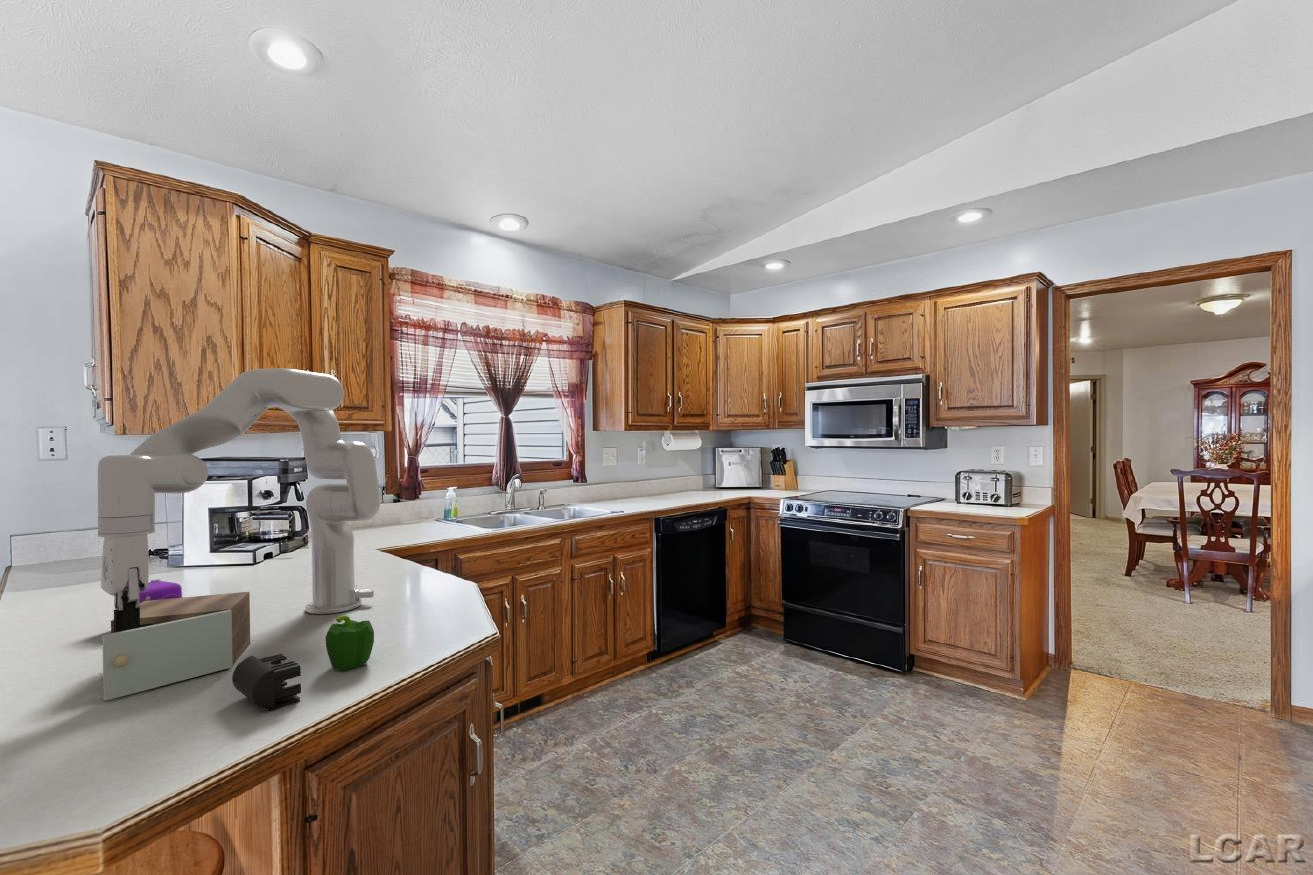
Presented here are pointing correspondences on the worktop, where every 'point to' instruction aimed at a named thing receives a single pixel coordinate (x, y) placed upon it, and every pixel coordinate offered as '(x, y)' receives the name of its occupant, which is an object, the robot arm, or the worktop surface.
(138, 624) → the robot arm
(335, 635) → the bell pepper
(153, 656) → the door
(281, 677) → the end cap
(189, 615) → the cabinet
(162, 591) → the toy camera
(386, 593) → the worktop surface
